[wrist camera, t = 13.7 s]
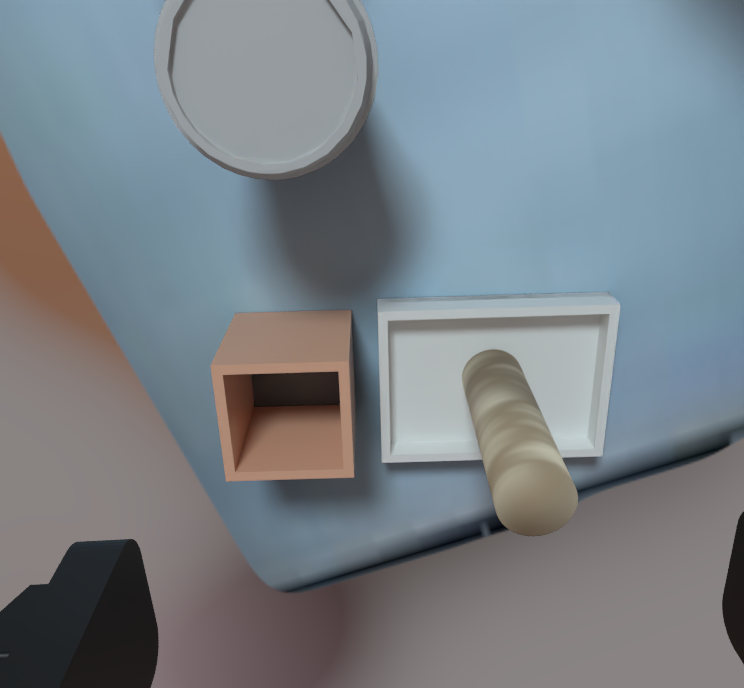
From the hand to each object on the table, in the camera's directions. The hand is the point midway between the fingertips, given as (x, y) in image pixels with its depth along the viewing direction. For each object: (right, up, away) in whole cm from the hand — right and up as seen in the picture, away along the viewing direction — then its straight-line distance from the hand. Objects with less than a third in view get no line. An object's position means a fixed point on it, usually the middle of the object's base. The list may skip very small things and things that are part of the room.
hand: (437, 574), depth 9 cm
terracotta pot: (-6, +2, +38) cm, 38 cm away
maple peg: (+7, +1, +37) cm, 38 cm away
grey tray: (+7, +1, +38) cm, 39 cm away
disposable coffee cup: (-5, +19, +30) cm, 36 cm away
